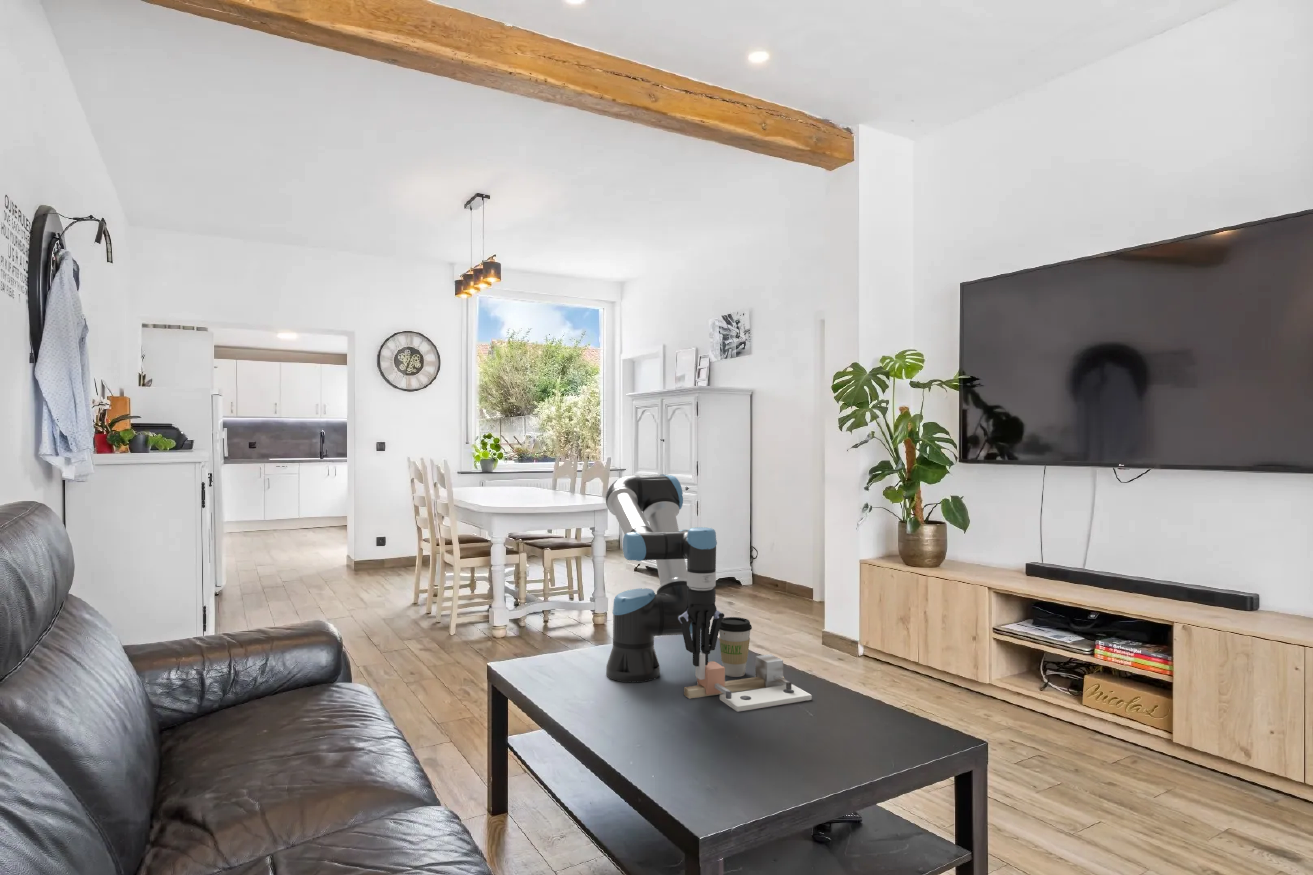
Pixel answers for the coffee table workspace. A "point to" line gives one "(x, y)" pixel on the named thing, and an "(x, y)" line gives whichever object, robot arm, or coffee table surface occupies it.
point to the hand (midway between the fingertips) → (700, 677)
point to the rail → (766, 676)
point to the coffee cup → (734, 645)
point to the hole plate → (765, 697)
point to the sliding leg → (714, 679)
